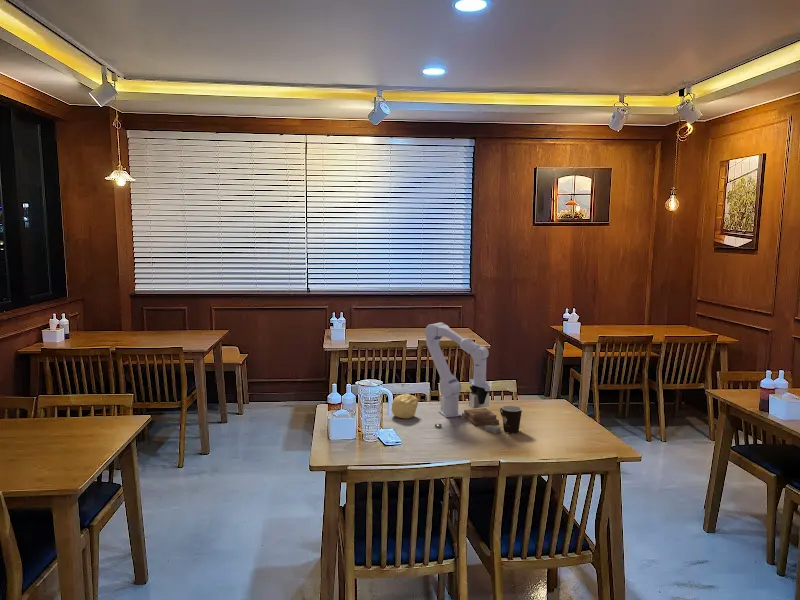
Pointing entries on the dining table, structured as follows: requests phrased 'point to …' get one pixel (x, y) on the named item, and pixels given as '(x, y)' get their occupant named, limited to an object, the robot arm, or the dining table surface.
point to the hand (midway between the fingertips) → (479, 402)
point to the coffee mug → (511, 418)
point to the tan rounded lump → (404, 406)
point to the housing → (477, 400)
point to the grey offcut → (492, 428)
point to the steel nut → (438, 425)
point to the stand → (480, 416)
